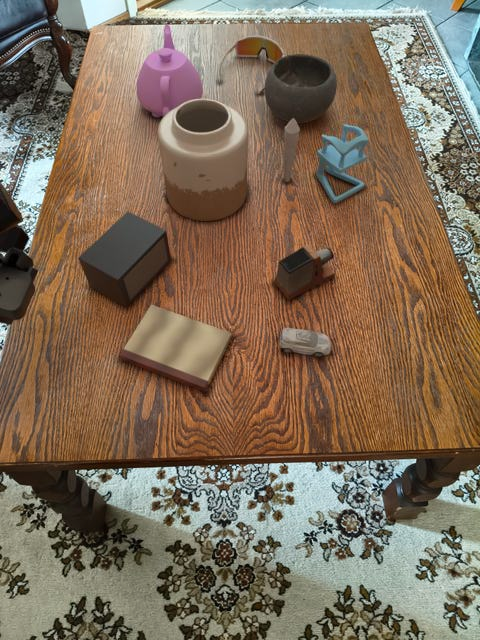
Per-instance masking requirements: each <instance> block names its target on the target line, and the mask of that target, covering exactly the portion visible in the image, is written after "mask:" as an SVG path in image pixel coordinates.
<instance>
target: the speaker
mask: <svg viewBox="0 0 480 640" xmlns="http://www.w3.org/2000/svg"><path fill="white" fill-rule="evenodd" d="M78 261H79V264H80V266H81V269H82V271H83V273H84V276H85V279H86V281H87V283H88V286H89V287H90V288H91V289H93V290H94V291H97V292H98V293H99V294H101V295H102V296H105V297H106V298H108V299H110V300H112V301H114V302H115V303H117V304H119V305H121V306H122V307H124V308H125V309H128V308H129V306H130V305H131V304H132V303H134V301H135V300H137V298H138V297H139V296H140V295H141V294H142V293H143V292H144V290H145V289H146V288H147V287H148V286H149V285H150V284H151V283H152V282H153V281H154V280H155V278H156V277H157V276H159V275H160V273H161V272H162V271H163V270H164V269H165V268H166V267H167V266H168V265H169V263H171V262H172V256H171V251H170V244H169V239H168V232H167V230H166V229H164V228H162V227H160V226H158V225H156V224H154V223H152V222H150V221H149V220H147V219H145V218H142V217H140V216H138V215H136V214H134V213H132V212H130V211H126V212H125V213H124V214H123V215H122V216H120V218H119V219H118V220H116V221H115V222H114V224H112V225H111V226H110V227H109V228H108V229H107V230H106V231H105V232H104V233H102V235H100V237H99V238H98V239H96V240H95V242H93V243H92V244H91V245H90V246H89V247H88V248H87V249H86V250H85V251H84V252H83V253H82V254H81V255H79V256H78Z"/></svg>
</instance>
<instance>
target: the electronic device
mask: <svg viewBox="0 0 480 640" xmlns="http://www.w3.org/2000/svg"><path fill="white" fill-rule="evenodd" d="M334 257H335V254H334V253H333V251H332V249H331V247H324V248H323V249H319V250H316V249H314V247H313V246H312V245H311V244H309V243H307V244H306V245H305V244H304V245H303V246H302V247H300V248H299V249H297V250H295V251H294V252H291V254H289V255H287V256H286V257H283V258H282V259H280V260H279V261H278V265H277V270H276V275H275V279H274V285H275V286H276V287H277V288H278V289H279V292H280V293H281V294H282V295H283V297H285V299H286V300H287V301H291V300H292V299H294V298H296V297H298V296H300V295H302V294H303V293H306V292H308V291H310V290H311V289H314V288H316V287H318V286H319V285H321V284H322V283H325V282H327V281H329V280H332V279H333V277H334V276H336V273H335V271H333V270H332V269H331V267H330V266H329V265H328V264H327V263H328V262H330V261H331V260H333V259H334Z"/></svg>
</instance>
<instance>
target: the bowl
mask: <svg viewBox="0 0 480 640" xmlns="http://www.w3.org/2000/svg"><path fill="white" fill-rule="evenodd" d="M264 86H265V90H264V96H265V100H266V104H267V106H268V108H269V110H270V111H271V112H272V113H273V114H274V115H275V116H276V117H277V118H279V119H281V120H283V121H286V122H288V123H289V122H290V121H291V120H292V119H293V118H294V119H295V120H296V122H297V124H301V123H302V124H303V123H307V122H311V121H314V120H316V119H318V118H320V117H321V116H323V114H325V113H326V112H327V110H329V108H330V107H331V106H332V104H333V102H334V100H335V98H336V95H337V87H338V80H337V75H336V72H335V69H334V68H333V66H332V65H331V64H330V63H329V62H328V61H326V59H324V58H321V57H319V56H315V55H312V54H306V53H293V54H287V55H285V56H284V57H282V58H280V59H278V60H277V61H276V62H275V63H273V64H272V65H270V68H269V70H268V72H267V74H266V78H265V82H264Z"/></svg>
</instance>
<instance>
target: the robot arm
mask: <svg viewBox="0 0 480 640" xmlns="http://www.w3.org/2000/svg"><path fill="white" fill-rule="evenodd" d="M23 222H24V218H23V215H22V212H21V211H20V209H19V208H18V206H17V204H16V202H15V201H14V199H13V197H12V196H11V195H10V193H9V192H8V190H7V189H6V187H5V186H4V185H3V183H2V181H0V324H5V325H8V326H9V325H10V326H12V325H13V323H14V321H20V320H22V319H23V318H24V317H25V316H26V313H27V312H28V308H29V305H30V303H31V301H32V299H33V297H34V295H35V293H36V286H35V283H34V281H35V279H36V277H37V275H38V272H39V270H38V269H37V268H36V267H34V265H35V263H34V260H33V258H31V257H30V255H28V254H27V253H26V252H25V249H26V247H27V245H28V243H29V240H30V236H29V234H28V233H27V231H25V229H24V228H23V227H22V226H21V225H19V224H21V223H23ZM3 253H5V254H3Z"/></svg>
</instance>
